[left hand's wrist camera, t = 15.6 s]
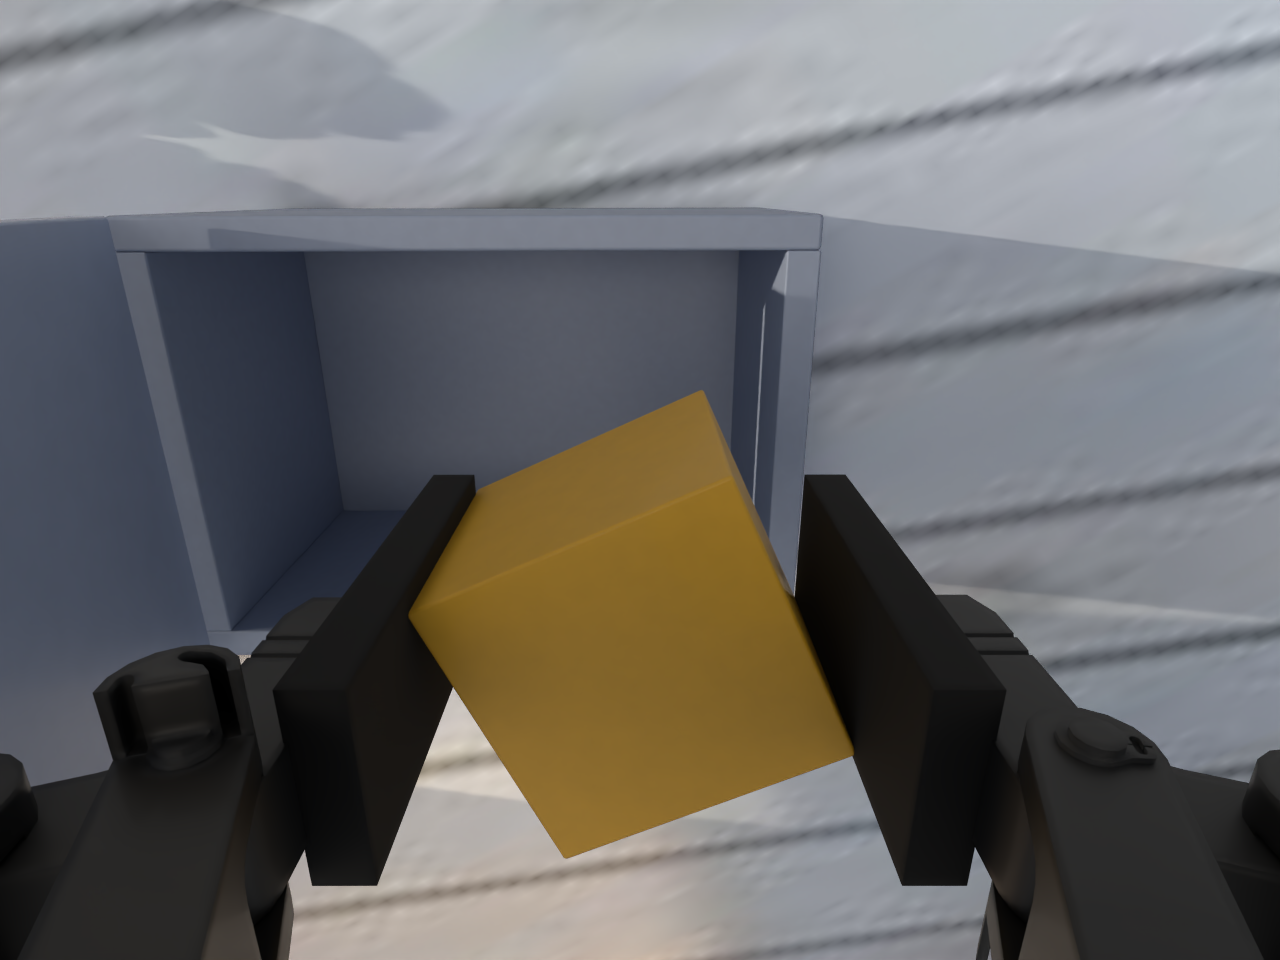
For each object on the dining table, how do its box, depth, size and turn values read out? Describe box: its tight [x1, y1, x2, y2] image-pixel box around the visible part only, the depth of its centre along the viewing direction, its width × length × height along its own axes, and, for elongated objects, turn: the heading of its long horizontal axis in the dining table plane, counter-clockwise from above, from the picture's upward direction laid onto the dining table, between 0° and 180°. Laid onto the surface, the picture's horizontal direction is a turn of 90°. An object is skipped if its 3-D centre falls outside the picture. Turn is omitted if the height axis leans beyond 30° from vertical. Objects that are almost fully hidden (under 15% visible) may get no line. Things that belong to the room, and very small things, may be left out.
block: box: [408, 390, 854, 858], centre depth 12 cm, size 5×5×5 cm
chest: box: [106, 208, 823, 655], centre depth 25 cm, size 17×12×10 cm
